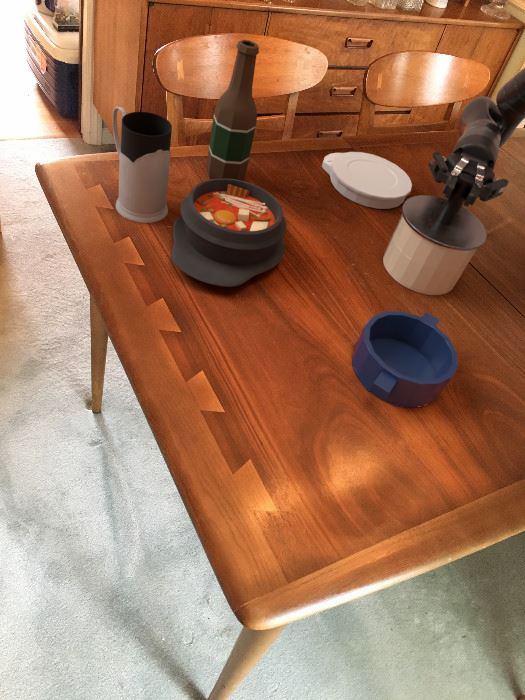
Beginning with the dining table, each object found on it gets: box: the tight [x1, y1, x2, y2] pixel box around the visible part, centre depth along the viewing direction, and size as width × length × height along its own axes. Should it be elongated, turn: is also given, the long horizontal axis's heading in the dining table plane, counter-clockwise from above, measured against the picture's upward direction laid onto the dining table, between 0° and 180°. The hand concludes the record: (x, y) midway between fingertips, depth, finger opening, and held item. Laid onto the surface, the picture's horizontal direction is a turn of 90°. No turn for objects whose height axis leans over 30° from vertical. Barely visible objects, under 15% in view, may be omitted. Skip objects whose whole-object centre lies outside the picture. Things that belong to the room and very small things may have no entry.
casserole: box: [170, 178, 287, 288], centre depth 89 cm, size 25×19×8 cm
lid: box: [321, 151, 413, 210], centre depth 116 cm, size 17×20×3 cm
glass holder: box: [112, 106, 173, 224], centre depth 91 cm, size 9×14×15 cm, turn 39°
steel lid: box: [401, 173, 488, 251], centre depth 90 cm, size 15×15×9 cm
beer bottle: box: [206, 39, 260, 181], centre depth 99 cm, size 8×8×24 cm
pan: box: [351, 310, 459, 408], centre depth 79 cm, size 14×19×5 cm
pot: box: [382, 214, 479, 296], centre depth 96 cm, size 14×14×10 cm
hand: (458, 196), depth 86 cm, fingers closed on steel lid, 2 cm apart
